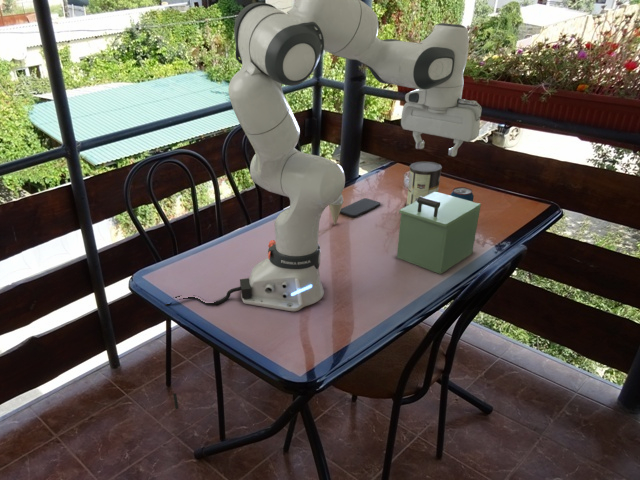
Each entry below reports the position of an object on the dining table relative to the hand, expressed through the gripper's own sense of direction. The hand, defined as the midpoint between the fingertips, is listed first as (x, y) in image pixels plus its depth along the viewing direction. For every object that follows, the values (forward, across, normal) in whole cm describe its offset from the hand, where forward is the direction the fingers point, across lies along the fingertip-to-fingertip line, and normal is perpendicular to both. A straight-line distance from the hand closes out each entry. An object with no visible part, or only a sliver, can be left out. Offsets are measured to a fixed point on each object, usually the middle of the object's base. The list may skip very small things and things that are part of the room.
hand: (435, 152), depth 143 cm
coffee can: (+33, +24, -35) cm, 54 cm away
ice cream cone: (+33, +36, -4) cm, 49 cm away
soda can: (+33, +6, -29) cm, 44 cm away
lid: (+18, 0, -6) cm, 19 cm away
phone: (+33, +38, -19) cm, 53 cm away
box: (+33, 0, -7) cm, 33 cm away
